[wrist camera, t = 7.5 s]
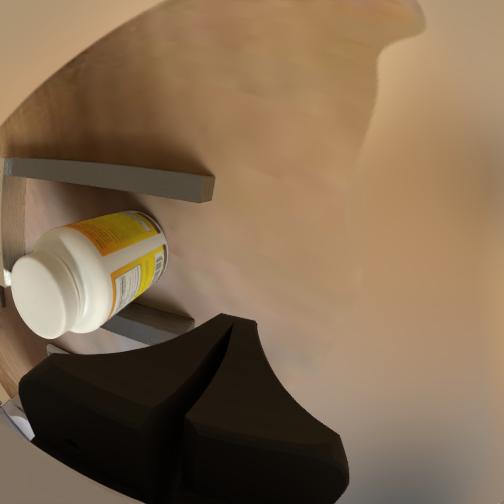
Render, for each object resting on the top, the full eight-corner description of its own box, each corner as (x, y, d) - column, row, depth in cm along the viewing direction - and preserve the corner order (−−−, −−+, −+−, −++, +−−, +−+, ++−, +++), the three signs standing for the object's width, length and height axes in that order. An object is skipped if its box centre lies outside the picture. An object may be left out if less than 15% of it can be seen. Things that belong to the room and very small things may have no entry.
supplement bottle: (97, 220, 20) (-10, 251, 10) (159, 199, 19) (51, 221, 9) (118, 291, 21) (27, 354, 12) (181, 278, 20) (97, 355, 10)
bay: (192, 337, 21) (179, 358, 18) (17, 274, 23) (-3, 283, 20) (215, 177, 18) (200, 176, 16) (19, 157, 20) (-4, 157, 17)
